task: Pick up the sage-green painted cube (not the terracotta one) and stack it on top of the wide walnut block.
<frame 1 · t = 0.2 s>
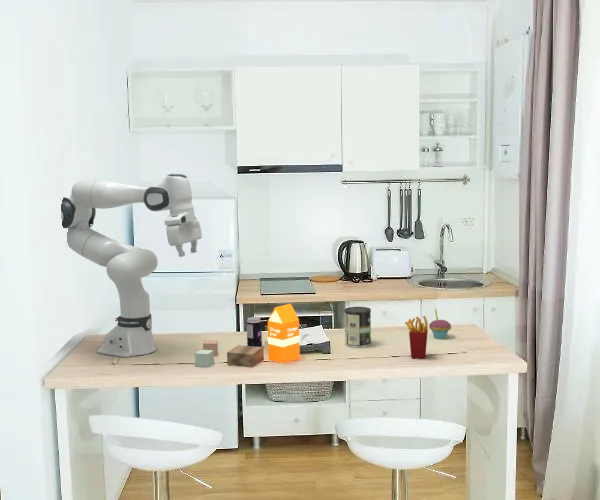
hand: (188, 254, 283), 39 cm above the countertop, tool pointing down, fingers open, 8 cm apart
french fries: (416, 356, 281), on the countertop
terracotta cube: (210, 354, 289), on the countertop
coffee can: (357, 344, 299), on the countertop
beverage can: (254, 349, 296), on the countertop
walnut block: (245, 363, 278), on the countertop
cupcake: (440, 337, 307), on the countertop
orange juice: (284, 359, 281), on the countertop
sage cube: (204, 365, 276), on the countertop
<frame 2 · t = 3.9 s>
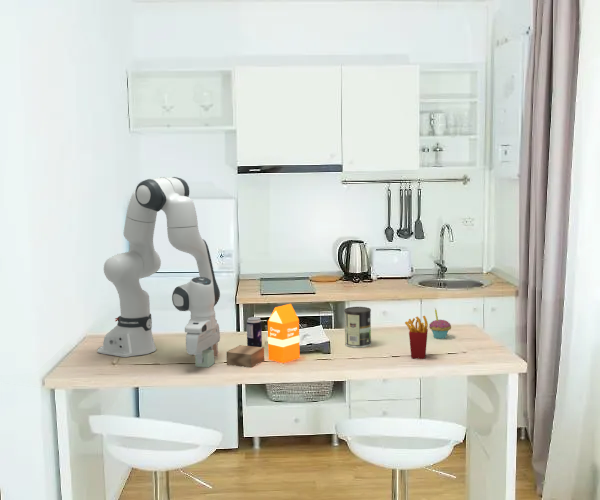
hand: (204, 360, 275), 2 cm above the countertop, tool pointing down, fingers closed on sage cube, 5 cm apart
sage cube: (205, 364, 276), on the countertop, touching gripper
everything else where it was.
when the fingers open (8 cm above the countertop, at t = 9.4 s): sage cube drops 1 cm, point 5 cm above the countertop.
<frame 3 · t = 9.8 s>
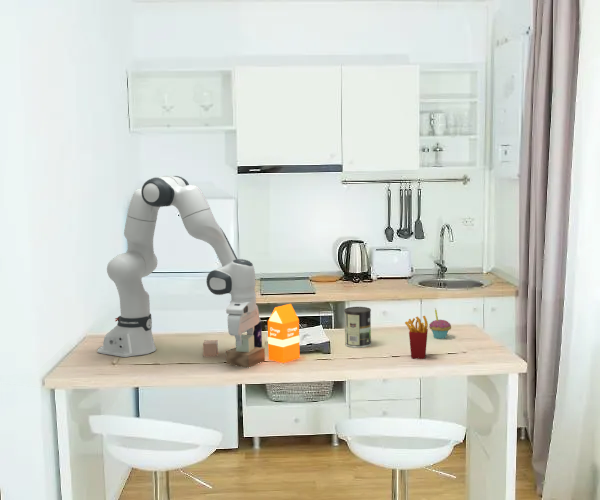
hand: (245, 341, 277), 8 cm above the countertop, tool pointing down, fingers open, 8 cm apart
sage cube: (245, 349, 277), point 5 cm above the countertop
everything else where it was.
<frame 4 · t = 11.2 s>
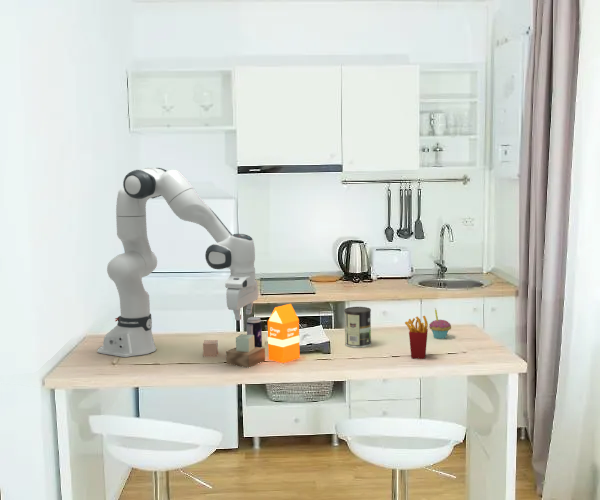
hand: (243, 317, 276), 17 cm above the countertop, tool pointing down, fingers open, 8 cm apart
walnut block: (245, 363, 278), on the countertop, touching sage cube
sage cube: (245, 349, 277), point 5 cm above the countertop, touching walnut block
everything else where it was.
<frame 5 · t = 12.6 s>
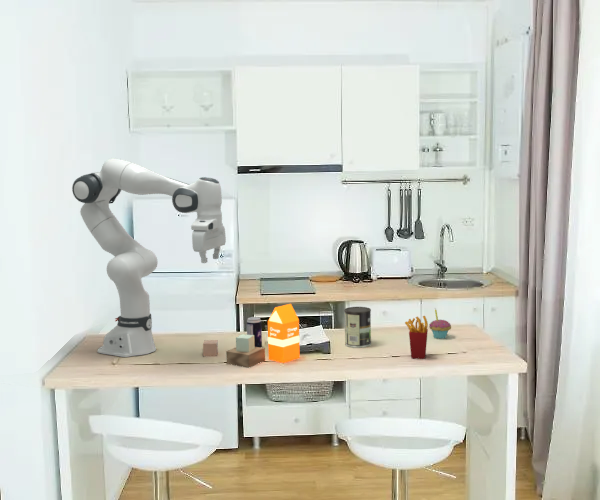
hand: (210, 260, 277), 37 cm above the countertop, tool pointing down, fingers open, 8 cm apart
nothing on the countertop moved.
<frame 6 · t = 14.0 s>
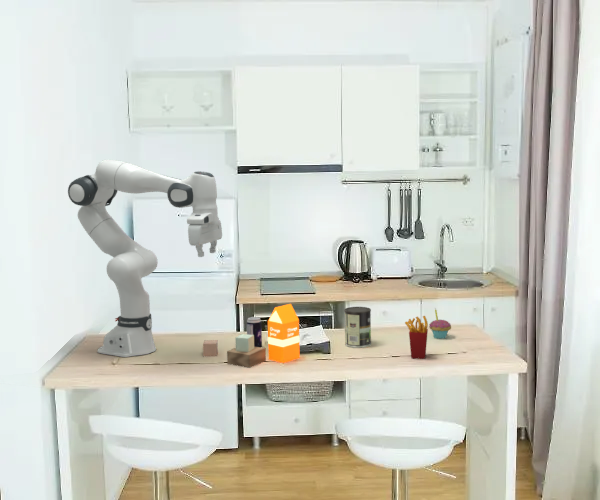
hand: (206, 254, 277), 39 cm above the countertop, tool pointing down, fingers open, 8 cm apart
nothing on the countertop moved.
at the end: sage cube inside the target area on the walnut block (0.3 cm from its centre), point 5.0 cm above the walnut block's base; the gripper is holding nothing; terracotta cube moved 0.1 cm from its start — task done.
